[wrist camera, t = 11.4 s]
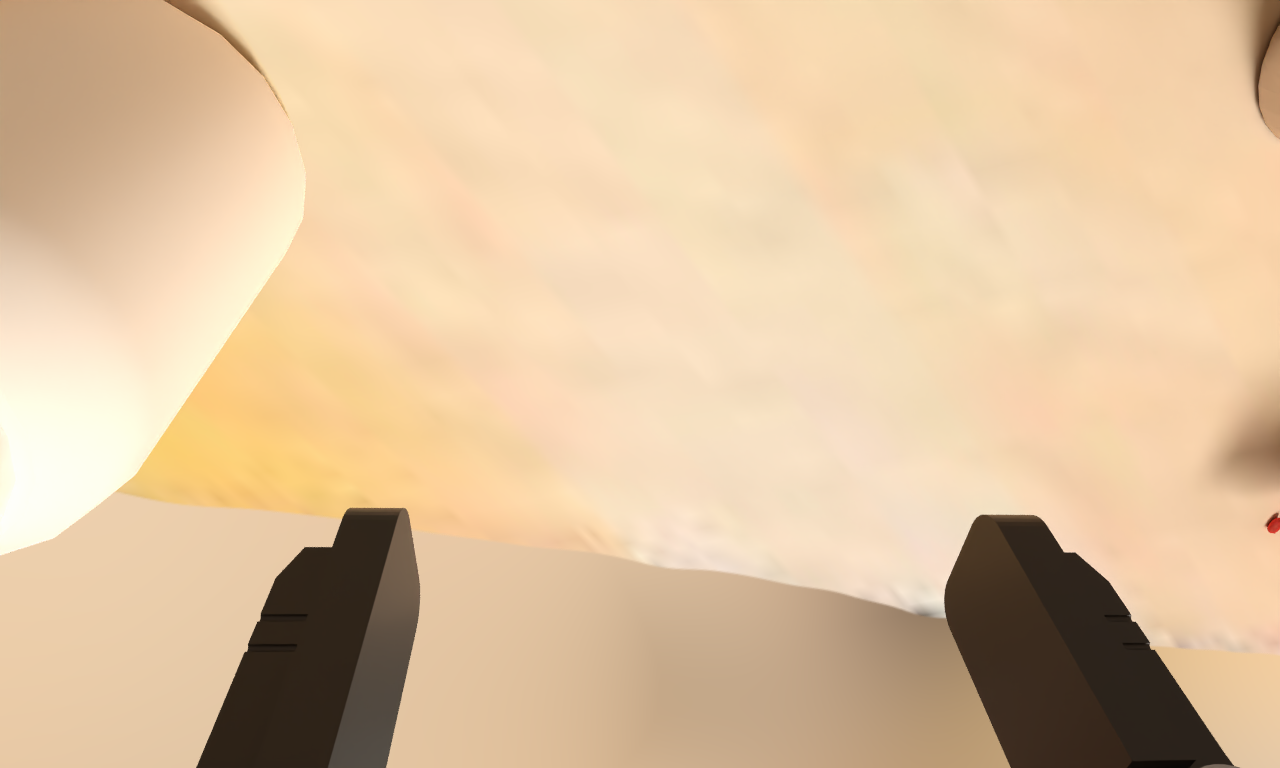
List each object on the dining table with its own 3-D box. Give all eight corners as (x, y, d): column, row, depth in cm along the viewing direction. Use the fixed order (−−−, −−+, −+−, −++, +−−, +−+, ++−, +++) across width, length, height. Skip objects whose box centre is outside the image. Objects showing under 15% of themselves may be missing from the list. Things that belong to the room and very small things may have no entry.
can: (29, 270, 34) (-461, 671, 18) (-80, -49, 27) (-1046, 140, 11) (325, 297, 36) (118, 686, 20) (296, 3, 29) (-65, 234, 13)
